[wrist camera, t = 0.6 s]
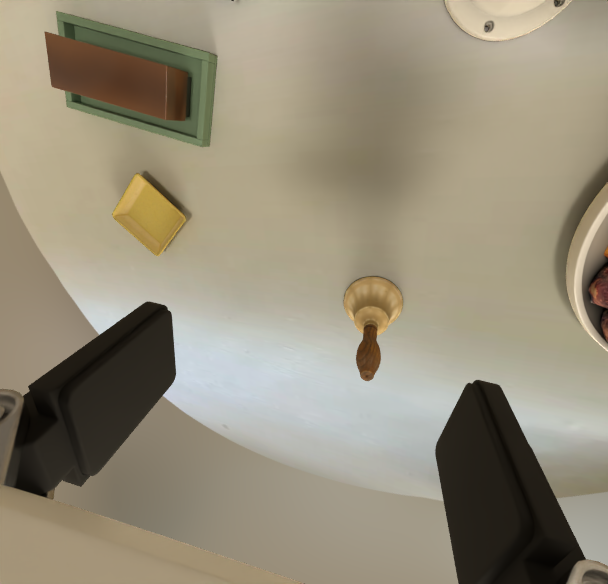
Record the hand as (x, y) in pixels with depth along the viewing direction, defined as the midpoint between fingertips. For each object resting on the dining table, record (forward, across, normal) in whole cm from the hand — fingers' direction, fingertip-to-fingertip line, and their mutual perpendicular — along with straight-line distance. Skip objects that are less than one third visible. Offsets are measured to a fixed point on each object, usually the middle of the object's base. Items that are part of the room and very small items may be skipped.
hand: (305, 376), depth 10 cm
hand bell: (+34, -5, +14) cm, 37 cm away
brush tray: (+34, +29, -9) cm, 45 cm away
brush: (+33, +29, -9) cm, 45 cm away
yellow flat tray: (+34, +28, +8) cm, 45 cm away
